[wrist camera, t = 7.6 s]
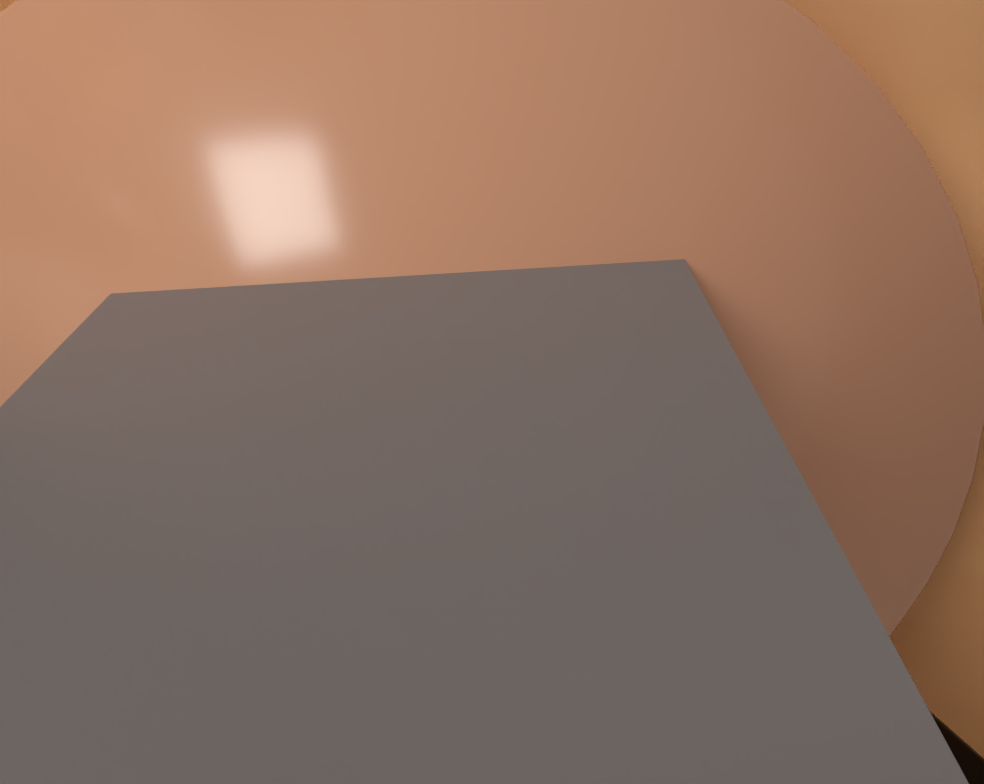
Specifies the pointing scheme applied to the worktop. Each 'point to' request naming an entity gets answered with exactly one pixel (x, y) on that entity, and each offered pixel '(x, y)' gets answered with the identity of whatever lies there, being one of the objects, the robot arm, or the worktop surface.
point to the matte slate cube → (429, 548)
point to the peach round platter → (520, 198)
